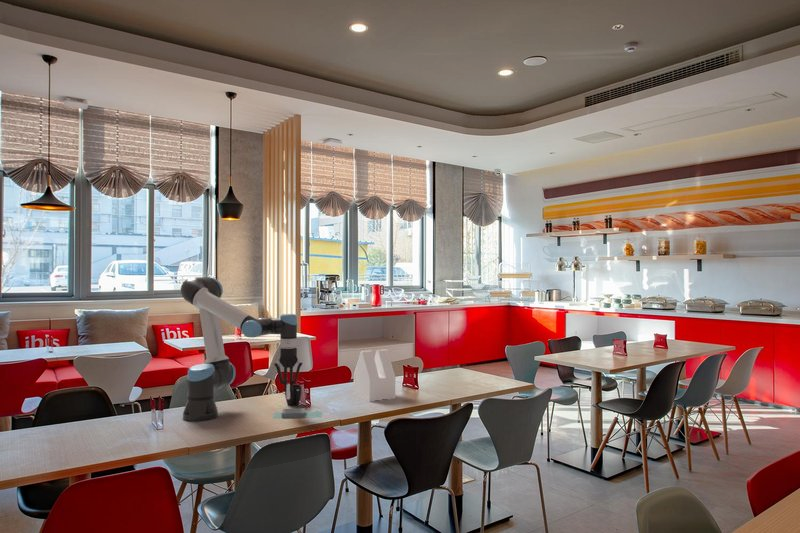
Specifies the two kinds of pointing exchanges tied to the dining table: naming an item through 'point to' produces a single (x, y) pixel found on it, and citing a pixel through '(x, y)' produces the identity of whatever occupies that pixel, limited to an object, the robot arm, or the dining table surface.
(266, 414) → the dining table surface
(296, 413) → the tile
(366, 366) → the white slotted block
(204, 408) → the robot arm
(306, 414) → the mat
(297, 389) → the mug
